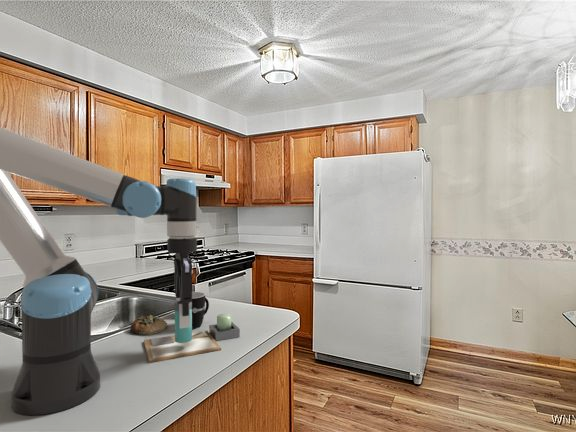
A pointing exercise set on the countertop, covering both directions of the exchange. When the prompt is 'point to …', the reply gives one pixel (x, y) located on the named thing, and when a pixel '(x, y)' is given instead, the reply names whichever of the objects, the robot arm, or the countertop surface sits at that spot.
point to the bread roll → (148, 325)
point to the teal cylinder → (183, 333)
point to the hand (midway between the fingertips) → (183, 324)
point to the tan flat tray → (179, 346)
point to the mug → (198, 308)
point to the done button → (223, 322)
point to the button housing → (224, 332)
